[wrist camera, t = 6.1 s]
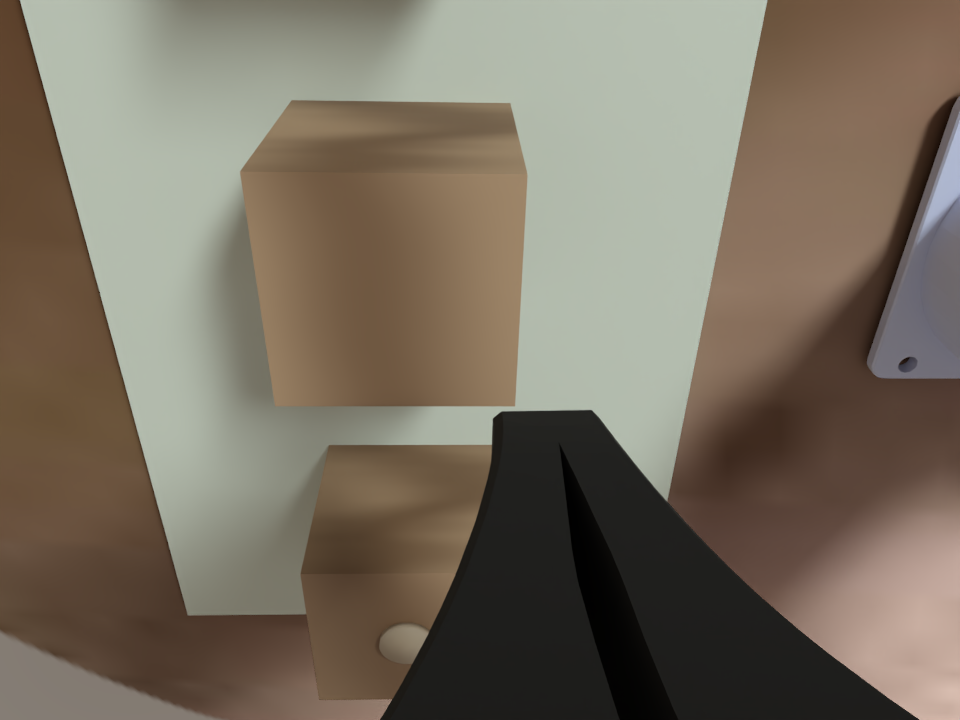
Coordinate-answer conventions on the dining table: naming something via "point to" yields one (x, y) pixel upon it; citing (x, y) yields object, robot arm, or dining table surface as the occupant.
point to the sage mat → (397, 78)
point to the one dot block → (385, 558)
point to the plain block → (389, 252)
